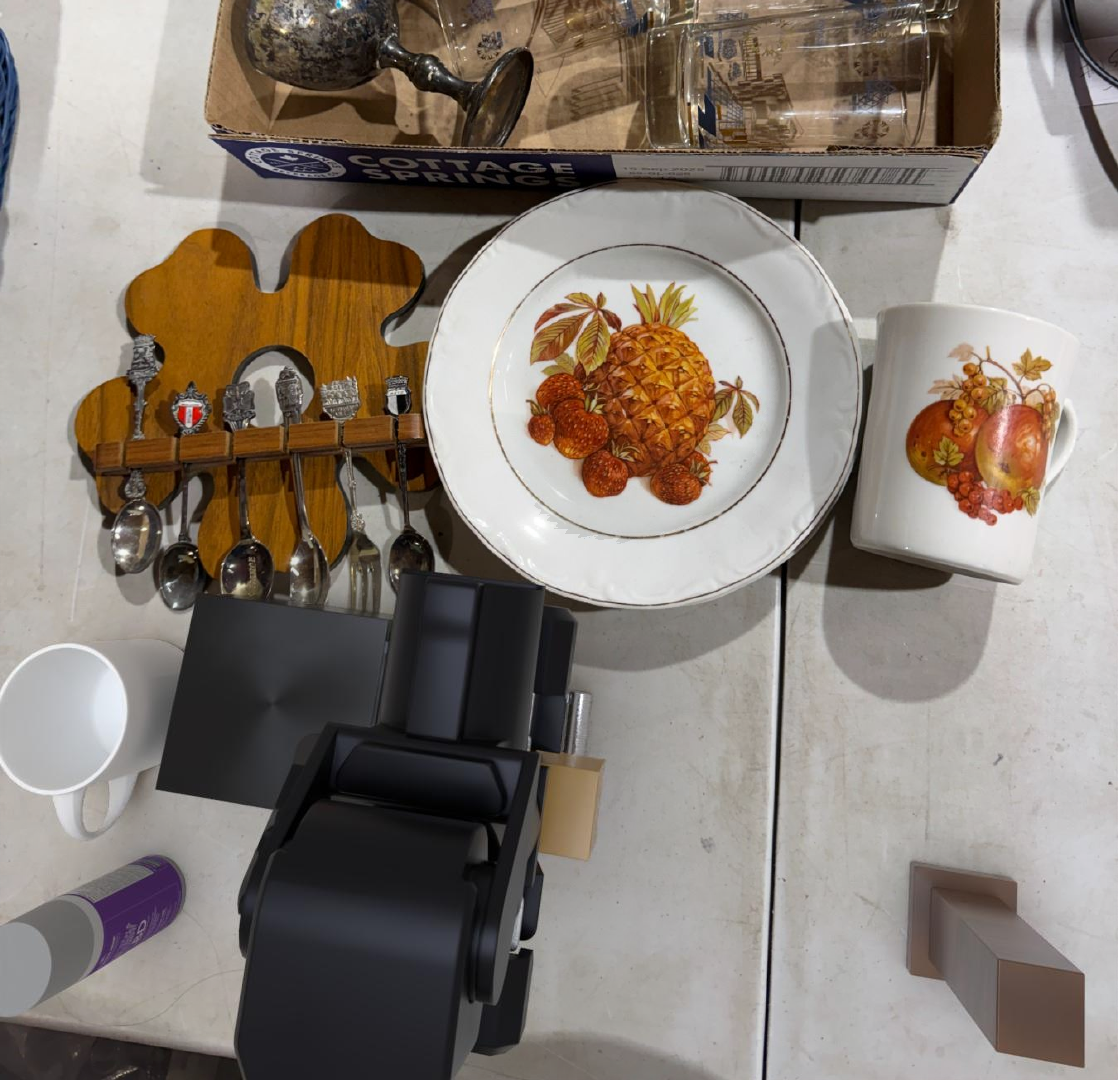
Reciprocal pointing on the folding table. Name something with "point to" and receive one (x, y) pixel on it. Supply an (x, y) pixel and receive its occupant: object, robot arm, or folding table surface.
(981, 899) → the stand
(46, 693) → the mug
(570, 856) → the block
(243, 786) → the black drawer box
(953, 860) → the folding table surface
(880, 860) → the folding table surface
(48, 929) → the container
